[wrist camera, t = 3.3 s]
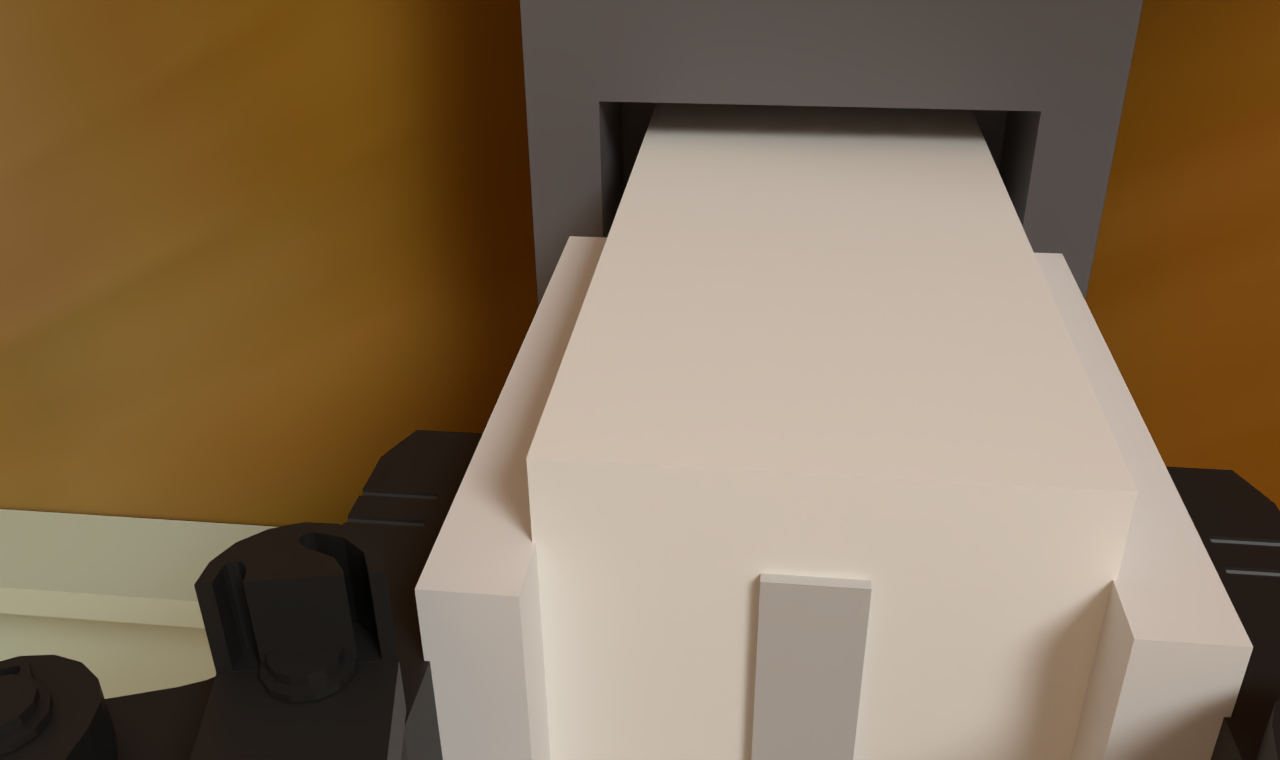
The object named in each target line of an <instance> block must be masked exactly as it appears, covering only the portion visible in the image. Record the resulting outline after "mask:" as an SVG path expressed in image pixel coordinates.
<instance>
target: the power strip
mask: <svg viewBox="0 0 1280 760" xmlns="http://www.w3.org/2000/svg"><path fill="white" fill-rule="evenodd" d="M1142 4H1143V0H520V10H521V27H522V44H523V60H524V77H525V94H526V110H527V127H528V144H529V160H530V177H531V194H532V211H533V227H534V244H535V261H536V277H537V294H538V307H539V305H540V303H541V300H542V298H543V296H544V293H545V291H546V289H547V287H548V284H549V282H550V280H551V278H552V275H553V273H554V271H555V268H556V266H557V264H558V262H559V259H560V257H561V255H562V252H563V250H564V248H565V246H566V243H567V241H568V239H569V237H570V236H577V237H606V238H607V237H608V235H609V232H610V229H611V226H612V224H613V221H614V218H615V216H616V213H617V210H618V207H619V205H620V202H621V199H622V196H623V194H624V191H625V188H626V186H627V183H628V180H629V177H630V175H631V172H632V169H633V167H634V164H635V161H636V158H637V156H638V153H639V150H640V148H641V145H642V142H643V139H644V137H645V134H646V131H647V129H648V126H649V123H650V120H651V118H652V115H653V112H654V110H655V107H656V104H657V103H694V104H738V105H782V106H827V107H871V108H915V109H959V110H972V111H973V114H974V116H975V118H976V121H977V123H978V125H979V128H980V130H981V132H982V135H983V137H984V139H985V141H986V144H987V146H988V148H989V151H990V153H991V155H992V158H993V160H994V162H995V164H996V167H997V169H998V171H999V174H1000V176H1001V178H1002V181H1003V183H1004V185H1005V187H1006V190H1007V192H1008V194H1009V197H1010V199H1011V201H1012V204H1013V206H1014V208H1015V211H1016V213H1017V215H1018V217H1019V220H1020V222H1021V224H1022V227H1023V229H1024V231H1025V234H1026V236H1027V238H1028V240H1029V243H1030V245H1031V247H1032V250H1033V252H1034V253H1059V254H1063V256H1064V258H1065V260H1066V262H1067V264H1068V267H1069V269H1070V271H1071V273H1072V275H1073V277H1074V279H1075V281H1076V283H1077V285H1078V287H1079V289H1080V291H1081V293H1082V295H1083V297H1084V299H1086V294H1087V289H1088V283H1089V278H1090V273H1091V268H1092V263H1093V258H1094V252H1095V247H1096V242H1097V237H1098V232H1099V227H1100V221H1101V216H1102V211H1103V206H1104V201H1105V196H1106V190H1107V185H1108V180H1109V175H1110V170H1111V165H1112V159H1113V154H1114V149H1115V144H1116V139H1117V133H1118V128H1119V123H1120V118H1121V113H1122V108H1123V102H1124V97H1125V92H1126V87H1127V82H1128V77H1129V71H1130V66H1131V61H1132V56H1133V51H1134V46H1135V40H1136V35H1137V30H1138V25H1139V20H1140V15H1141V9H1142Z"/></svg>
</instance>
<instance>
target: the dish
mask: <svg viewBox="0 0 1280 760" xmlns="http://www.w3.org/2000/svg"><path fill="white" fill-rule="evenodd" d="M270 528H276V527H272V526H256V525H241V524H225V523H209V522H194V521H178V520H162V519H147V518H131V517H115V516H100V515H84V514H68V513H53V512H37V511H21V510H5V509H0V661H3V660H7V659H11V658H14V657H18V656H32V655H58V656H61V657H65V658H68V659H72V660H75V661H79V662H82V663H83V664H84V665H85V666H86V667H87V668H88V669H89V670H90V671H91V672H92V673H93V674H94V675H95V676H96V677H97V678H98V680H99V683H100V686H101V689H102V692H103V695H104V698H105V699H108V698H114V697H120V696H126V695H132V694H138V693H144V692H150V691H156V690H162V689H168V688H175V687H180V686H184V685H188V684H192V683H196V682H200V681H204V680H208V679H210V678H213V677H215V676H216V670H215V666H214V662H213V658H212V654H211V650H210V646H209V642H208V638H207V634H206V631H205V627H204V623H203V619H202V615H201V611H200V607H199V603H198V599H197V595H196V591H195V587H194V584H195V583H196V581H197V580H198V578H199V577H200V575H201V574H202V572H203V571H204V569H205V568H206V566H207V565H208V563H209V562H210V561H211V560H213V559H214V558H215V557H217V556H218V555H219V554H221V553H222V552H224V551H225V550H226V549H228V548H229V547H230V546H232V545H233V544H234V543H236V542H238V541H240V540H243V539H245V538H248V537H250V536H253V535H255V534H258V533H260V532H262V531H265V530H267V529H270Z"/></svg>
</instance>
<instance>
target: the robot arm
mask: <svg viewBox="0 0 1280 760" xmlns="http://www.w3.org/2000/svg"><path fill="white" fill-rule="evenodd" d="M606 240H607V238H606V237H577V236H570V237H569V239H568V241H567V243H566V246H565V248H564V250H563V252H562V255H561V257H560V259H559V262H558V264H557V266H556V268H555V271H554V273H553V275H552V278H551V280H550V282H549V284H548V287H547V289H546V291H545V293H544V296H543V298H542V300H541V303H540V305H539V307H538V309H537V312H536V314H535V316H534V319H533V321H532V323H531V325H530V328H529V330H528V332H527V334H526V337H525V339H524V341H523V344H522V346H521V348H520V350H519V353H518V355H517V357H516V360H515V362H514V364H513V366H512V369H511V371H510V373H509V375H508V378H507V380H506V382H505V385H504V387H503V389H502V391H501V394H500V396H499V398H498V400H497V403H496V405H495V407H494V410H493V412H492V414H491V416H490V419H489V421H488V423H487V426H486V428H485V430H484V432H483V434H481V433H462V432H444V431H425V430H416V431H415V432H414V433H412V434H411V435H410V436H408V437H407V438H406V439H404V440H403V441H402V442H400V443H399V444H398V445H396V446H395V447H394V448H392V449H391V450H390V451H388V452H387V453H386V454H384V455H383V456H382V457H381V458H380V460H379V462H378V463H377V465H376V467H375V469H374V471H373V472H372V474H371V476H370V478H369V479H368V481H367V483H366V485H365V487H364V488H363V495H362V496H359V497H358V499H357V501H356V503H355V504H354V506H353V508H352V510H351V511H350V513H349V515H348V522H347V523H344V524H343V526H342V525H339V524H325V523H306V522H305V523H299V524H293V525H287V526H282V527H276V528H270V529H267V530H265V531H262V532H260V533H258V534H255V535H253V536H250V537H248V538H245V539H243V540H240V541H238V542H236V543H234V544H233V545H232V546H230V547H229V548H228V549H226V550H225V551H224V552H222V553H221V554H219V555H218V556H217V557H215V558H214V559H213V560H211V561H210V562H209V563H208V565H207V566H206V568H205V569H204V571H203V572H202V574H201V575H200V577H199V578H198V580H197V581H196V583H195V584H194V587H195V591H196V595H197V599H198V603H199V607H200V611H201V615H202V619H203V623H204V627H205V631H206V634H207V638H208V642H209V646H210V650H211V654H212V658H213V662H214V666H215V670H216V676H215V677H213V678H210V679H208V680H204V681H200V682H196V683H192V684H188V685H184V686H180V687H175V688H168V689H162V690H156V691H150V692H144V693H138V694H132V695H126V696H120V697H114V698H108V699H105V698H104V695H103V692H102V689H101V686H100V683H99V680H98V678H97V677H96V676H95V675H94V674H93V673H92V672H91V671H90V670H89V669H88V668H87V667H86V666H85V665H84V664H83V663H82V662H79V661H75V660H72V659H68V658H65V657H61V656H58V655H32V656H18V657H14V658H11V659H7V660H3V661H0V760H551V755H550V741H549V726H548V711H547V697H546V682H545V667H544V653H543V638H542V623H541V608H540V594H539V579H538V564H537V550H536V543H534V542H532V532H531V517H530V503H529V489H528V474H527V460H526V457H527V455H528V452H529V449H530V446H531V444H532V441H533V438H534V436H535V433H536V430H537V427H538V425H539V422H540V419H541V417H542V414H543V411H544V408H545V406H546V403H547V400H548V398H549V395H550V392H551V389H552V387H553V384H554V381H555V379H556V376H557V373H558V370H559V368H560V365H561V362H562V360H563V357H564V354H565V351H566V349H567V346H568V343H569V340H570V338H571V335H572V332H573V330H574V327H575V324H576V321H577V319H578V316H579V313H580V311H581V308H582V305H583V302H584V300H585V297H586V294H587V292H588V289H589V286H590V283H591V281H592V278H593V275H594V273H595V270H596V267H597V264H598V262H599V259H600V256H601V254H602V251H603V248H604V245H605V243H606ZM1034 254H1035V257H1036V259H1037V261H1038V263H1039V266H1040V268H1041V270H1042V273H1043V275H1044V277H1045V280H1046V282H1047V284H1048V287H1049V289H1050V291H1051V293H1052V296H1053V298H1054V300H1055V303H1056V305H1057V307H1058V310H1059V312H1060V314H1061V316H1062V319H1063V321H1064V323H1065V326H1066V328H1067V330H1068V333H1069V335H1070V337H1071V339H1072V342H1073V344H1074V346H1075V349H1076V351H1077V353H1078V356H1079V358H1080V360H1081V363H1082V365H1083V367H1084V369H1085V372H1086V374H1087V376H1088V379H1089V381H1090V383H1091V386H1092V388H1093V390H1094V392H1095V395H1096V397H1097V399H1098V402H1099V404H1100V406H1101V409H1102V411H1103V413H1104V415H1105V418H1106V420H1107V422H1108V425H1109V427H1110V429H1111V432H1112V434H1113V436H1114V439H1115V441H1116V443H1117V445H1118V448H1119V450H1120V452H1121V455H1122V457H1123V459H1124V462H1125V464H1126V466H1127V468H1128V471H1129V473H1130V475H1131V478H1132V480H1133V482H1134V485H1135V487H1136V489H1137V491H1138V493H1137V498H1136V502H1135V506H1134V510H1133V514H1132V519H1131V523H1130V527H1129V531H1128V535H1127V539H1126V544H1125V548H1124V552H1123V556H1122V560H1121V565H1120V569H1119V573H1118V577H1117V580H1113V581H1112V585H1111V590H1110V594H1109V598H1108V602H1107V607H1106V611H1105V615H1104V619H1103V623H1102V628H1101V632H1100V636H1099V640H1098V645H1097V649H1096V653H1095V657H1094V662H1093V666H1092V670H1091V674H1090V678H1089V683H1088V687H1087V691H1086V695H1085V700H1084V704H1083V708H1082V712H1081V717H1080V721H1079V725H1078V729H1077V734H1076V738H1075V742H1074V746H1073V750H1072V755H1071V759H1070V760H1280V511H1279V510H1278V508H1277V506H1276V505H1275V503H1273V502H1272V501H1271V500H1269V499H1268V498H1267V497H1266V496H1264V495H1263V494H1262V493H1261V492H1259V491H1258V490H1257V489H1255V488H1254V487H1253V486H1252V485H1250V484H1249V483H1248V482H1246V481H1245V480H1244V479H1243V478H1241V477H1240V476H1239V475H1238V474H1236V473H1235V472H1234V471H1232V470H1217V469H1198V468H1180V467H1166V466H1165V464H1164V462H1163V460H1162V458H1161V456H1160V454H1159V452H1158V450H1157V448H1156V446H1155V444H1154V442H1153V439H1152V437H1151V435H1150V433H1149V431H1148V429H1147V427H1146V425H1145V423H1144V421H1143V419H1142V417H1141V415H1140V413H1139V411H1138V409H1137V407H1136V404H1135V402H1134V400H1133V398H1132V396H1131V394H1130V392H1129V390H1128V388H1127V386H1126V384H1125V382H1124V380H1123V378H1122V376H1121V374H1120V372H1119V369H1118V367H1117V365H1116V363H1115V361H1114V359H1113V357H1112V355H1111V353H1110V351H1109V349H1108V347H1107V345H1106V343H1105V341H1104V339H1103V337H1102V334H1101V332H1100V330H1099V328H1098V326H1097V324H1096V322H1095V320H1094V318H1093V316H1092V314H1091V312H1090V310H1089V308H1088V306H1087V304H1086V302H1085V299H1084V297H1083V295H1082V293H1081V291H1080V289H1079V287H1078V285H1077V283H1076V281H1075V279H1074V277H1073V275H1072V273H1071V271H1070V269H1069V267H1068V264H1067V262H1066V260H1065V258H1064V256H1063V254H1059V253H1034Z"/></svg>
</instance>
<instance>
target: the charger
mask: <svg viewBox="0 0 1280 760" xmlns="http://www.w3.org/2000/svg"><path fill="white" fill-rule="evenodd" d="M526 460H527V474H528V489H529V503H530V517H531V532H532V542H534V543H536V550H537V564H538V579H539V594H540V608H541V623H542V638H543V653H544V667H545V682H546V697H547V711H548V726H549V741H550V755H551V760H1070V759H1071V755H1072V750H1073V746H1074V742H1075V738H1076V734H1077V729H1078V725H1079V721H1080V717H1081V712H1082V708H1083V704H1084V700H1085V695H1086V691H1087V687H1088V683H1089V678H1090V674H1091V670H1092V666H1093V662H1094V657H1095V653H1096V649H1097V645H1098V640H1099V636H1100V632H1101V628H1102V623H1103V619H1104V615H1105V611H1106V607H1107V602H1108V598H1109V594H1110V590H1111V585H1112V581H1113V580H1117V577H1118V573H1119V569H1120V565H1121V560H1122V556H1123V552H1124V548H1125V544H1126V539H1127V535H1128V531H1129V527H1130V523H1131V519H1132V514H1133V510H1134V506H1135V502H1136V498H1137V493H1138V491H1137V489H1136V487H1135V485H1134V482H1133V480H1132V478H1131V475H1130V473H1129V471H1128V468H1127V466H1126V464H1125V462H1124V459H1123V457H1122V455H1121V452H1120V450H1119V448H1118V445H1117V443H1116V441H1115V439H1114V436H1113V434H1112V432H1111V429H1110V427H1109V425H1108V422H1107V420H1106V418H1105V415H1104V413H1103V411H1102V409H1101V406H1100V404H1099V402H1098V399H1097V397H1096V395H1095V392H1094V390H1093V388H1092V386H1091V383H1090V381H1089V379H1088V376H1087V374H1086V372H1085V369H1084V367H1083V365H1082V363H1081V360H1080V358H1079V356H1078V353H1077V351H1076V349H1075V346H1074V344H1073V342H1072V339H1071V337H1070V335H1069V333H1068V330H1067V328H1066V326H1065V323H1064V321H1063V319H1062V316H1061V314H1060V312H1059V310H1058V307H1057V305H1056V303H1055V300H1054V298H1053V296H1052V293H1051V291H1050V289H1049V287H1048V284H1047V282H1046V280H1045V277H1044V275H1043V273H1042V270H1041V268H1040V266H1039V263H1038V261H1037V259H1036V257H1035V254H1034V252H1033V250H1032V247H1031V245H1030V243H1029V240H1028V238H1027V236H1026V234H1025V231H1024V229H1023V227H1022V224H1021V222H1020V220H1019V217H1018V215H1017V213H1016V211H1015V208H1014V206H1013V204H1012V201H1011V199H1010V197H1009V194H1008V192H1007V190H1006V187H1005V185H1004V183H1003V181H1002V178H1001V176H1000V174H999V171H998V169H997V167H996V164H995V162H994V160H993V158H992V155H991V153H990V151H989V148H988V146H987V144H986V141H985V139H984V137H983V135H982V132H981V130H980V128H979V125H978V123H977V121H976V118H975V116H974V114H973V111H972V110H959V109H915V108H871V107H827V106H782V105H738V104H694V103H657V104H656V107H655V110H654V112H653V115H652V118H651V120H650V123H649V126H648V129H647V131H646V134H645V137H644V139H643V142H642V145H641V148H640V150H639V153H638V156H637V158H636V161H635V164H634V167H633V169H632V172H631V175H630V177H629V180H628V183H627V186H626V188H625V191H624V194H623V196H622V199H621V202H620V205H619V207H618V210H617V213H616V216H615V218H614V221H613V224H612V226H611V229H610V232H609V235H608V237H607V240H606V243H605V245H604V248H603V251H602V254H601V256H600V259H599V262H598V264H597V267H596V270H595V273H594V275H593V278H592V281H591V283H590V286H589V289H588V292H587V294H586V297H585V300H584V302H583V305H582V308H581V311H580V313H579V316H578V319H577V321H576V324H575V327H574V330H573V332H572V335H571V338H570V340H569V343H568V346H567V349H566V351H565V354H564V357H563V360H562V362H561V365H560V368H559V370H558V373H557V376H556V379H555V381H554V384H553V387H552V389H551V392H550V395H549V398H548V400H547V403H546V406H545V408H544V411H543V414H542V417H541V419H540V422H539V425H538V427H537V430H536V433H535V436H534V438H533V441H532V444H531V446H530V449H529V452H528V455H527V457H526Z"/></svg>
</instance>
